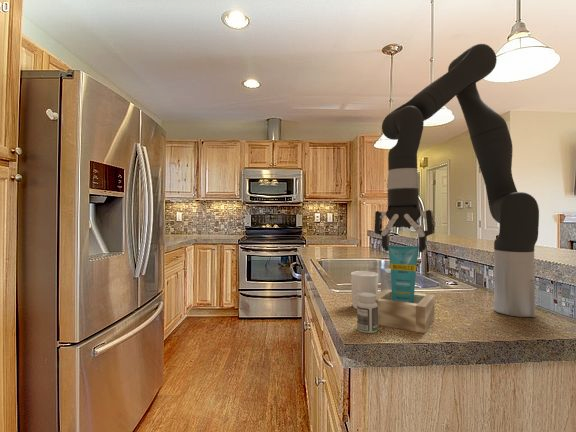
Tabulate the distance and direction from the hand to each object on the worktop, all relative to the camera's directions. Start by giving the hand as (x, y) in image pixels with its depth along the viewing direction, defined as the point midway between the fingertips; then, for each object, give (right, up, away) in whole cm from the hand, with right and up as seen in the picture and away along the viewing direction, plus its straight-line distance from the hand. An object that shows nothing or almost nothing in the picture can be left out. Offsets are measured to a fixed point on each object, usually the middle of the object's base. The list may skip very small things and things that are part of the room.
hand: (403, 251), depth 84 cm
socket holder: (0, -18, 0) cm, 18 cm away
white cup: (-7, -18, +12) cm, 23 cm away
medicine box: (+5, -18, +26) cm, 32 cm away
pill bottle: (-11, -18, -6) cm, 22 cm away
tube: (0, -18, +1) cm, 18 cm away
